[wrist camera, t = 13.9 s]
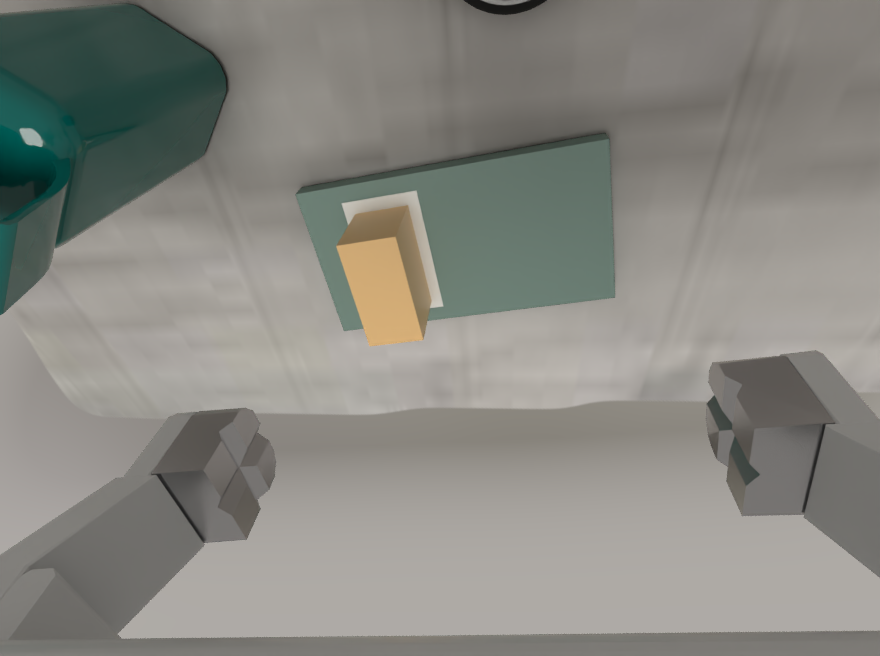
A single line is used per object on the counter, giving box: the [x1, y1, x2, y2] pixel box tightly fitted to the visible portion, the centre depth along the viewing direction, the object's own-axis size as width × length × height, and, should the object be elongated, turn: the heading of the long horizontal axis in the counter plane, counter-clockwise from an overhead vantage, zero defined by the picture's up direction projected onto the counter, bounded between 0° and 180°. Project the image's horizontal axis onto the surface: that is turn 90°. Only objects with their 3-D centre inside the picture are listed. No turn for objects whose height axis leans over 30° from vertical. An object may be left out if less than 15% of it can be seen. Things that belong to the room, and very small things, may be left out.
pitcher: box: [0, 3, 226, 315], centre depth 28 cm, size 10×8×22 cm
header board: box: [295, 133, 615, 331], centre depth 40 cm, size 22×12×5 cm, turn 102°
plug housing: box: [336, 205, 432, 346], centre depth 39 cm, size 4×8×6 cm, turn 12°
